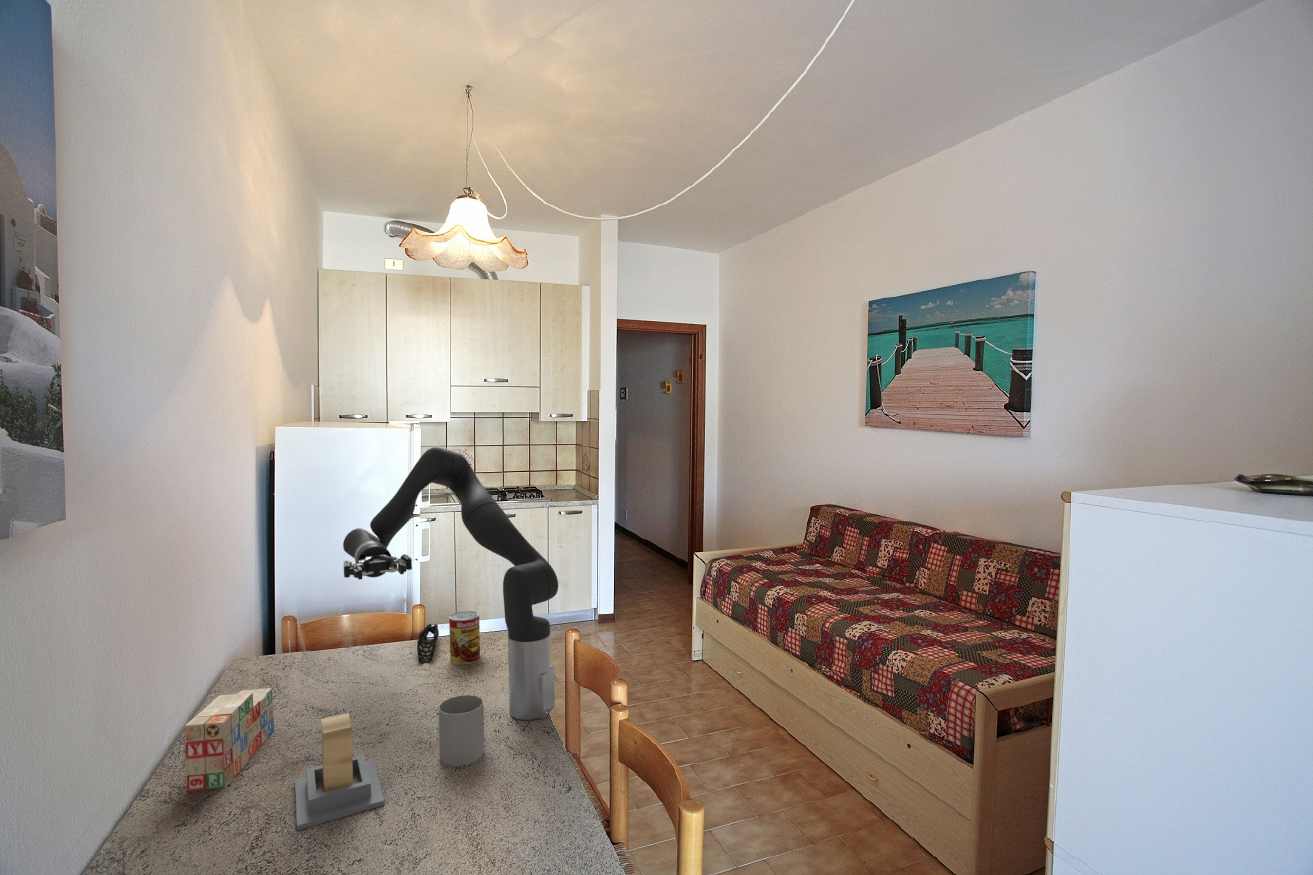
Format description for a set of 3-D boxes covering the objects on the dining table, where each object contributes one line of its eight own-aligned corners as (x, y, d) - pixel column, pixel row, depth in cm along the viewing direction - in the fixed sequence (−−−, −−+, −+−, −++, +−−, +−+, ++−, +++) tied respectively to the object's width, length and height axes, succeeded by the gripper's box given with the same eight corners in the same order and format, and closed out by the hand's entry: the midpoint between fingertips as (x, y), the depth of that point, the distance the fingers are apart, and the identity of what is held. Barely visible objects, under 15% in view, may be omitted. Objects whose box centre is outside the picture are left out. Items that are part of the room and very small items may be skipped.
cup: (438, 748, 128) (437, 699, 127) (480, 739, 131) (479, 691, 130) (441, 770, 120) (440, 717, 119) (486, 760, 123) (485, 709, 123)
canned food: (463, 666, 169) (462, 621, 168) (443, 660, 173) (442, 616, 173) (486, 657, 175) (485, 613, 175) (467, 651, 180) (466, 609, 179)
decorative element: (435, 664, 172) (435, 642, 171) (415, 665, 170) (415, 644, 170) (439, 636, 193) (439, 617, 193) (422, 638, 192) (421, 618, 192)
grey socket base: (295, 784, 116) (294, 766, 115) (373, 763, 122) (372, 746, 122) (297, 830, 103) (296, 810, 102) (384, 804, 109) (383, 785, 109)
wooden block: (323, 784, 114) (321, 718, 113) (350, 777, 116) (348, 712, 116) (324, 802, 109) (322, 733, 108) (353, 794, 111) (351, 726, 110)
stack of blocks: (242, 733, 135) (240, 675, 134) (274, 730, 136) (273, 673, 135) (186, 792, 114) (184, 724, 113) (225, 788, 115) (223, 721, 114)
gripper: (339, 546, 151) (345, 559, 137) (403, 539, 158) (415, 551, 144) (340, 577, 151) (346, 593, 137) (404, 569, 159) (416, 584, 145)
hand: (381, 572), depth 141 cm, fingers open, 8 cm apart
